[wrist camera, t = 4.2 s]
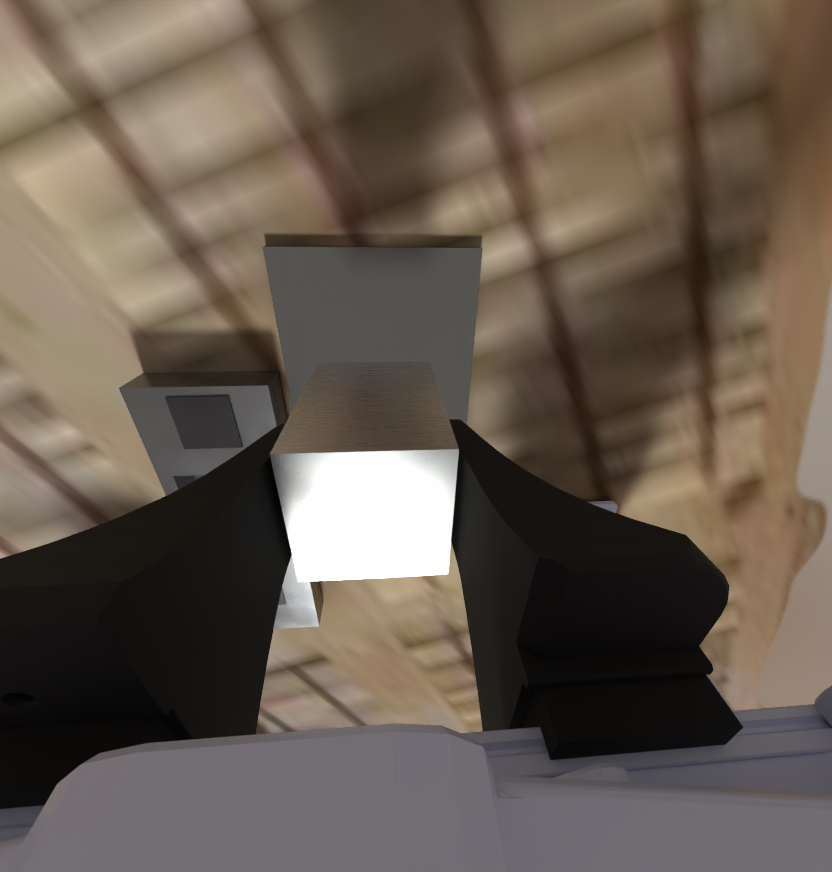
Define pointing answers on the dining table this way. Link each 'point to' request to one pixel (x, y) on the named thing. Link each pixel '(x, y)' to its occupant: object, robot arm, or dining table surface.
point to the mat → (377, 310)
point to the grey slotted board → (215, 444)
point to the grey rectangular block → (368, 473)
